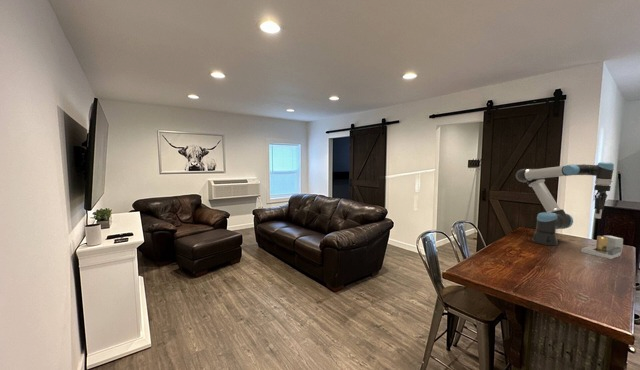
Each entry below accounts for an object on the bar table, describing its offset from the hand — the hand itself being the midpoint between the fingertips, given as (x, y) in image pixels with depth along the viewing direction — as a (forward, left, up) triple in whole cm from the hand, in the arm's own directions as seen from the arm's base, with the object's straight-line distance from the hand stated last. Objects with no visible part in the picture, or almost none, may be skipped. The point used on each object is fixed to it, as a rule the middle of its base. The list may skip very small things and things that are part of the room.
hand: (597, 218), depth 182 cm
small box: (+5, +12, -24) cm, 28 cm away
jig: (+4, -2, -24) cm, 25 cm away
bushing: (+4, -2, -24) cm, 25 cm away
